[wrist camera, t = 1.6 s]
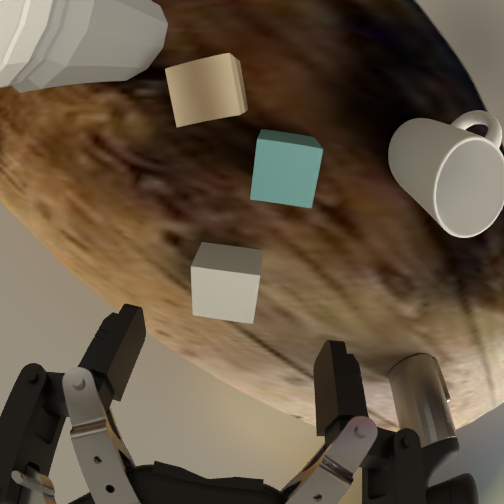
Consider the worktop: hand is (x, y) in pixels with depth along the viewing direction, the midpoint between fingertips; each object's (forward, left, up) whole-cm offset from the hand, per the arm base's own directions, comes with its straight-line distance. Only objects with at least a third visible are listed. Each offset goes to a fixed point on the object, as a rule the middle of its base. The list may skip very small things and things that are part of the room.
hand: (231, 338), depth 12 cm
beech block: (+5, -9, -20) cm, 22 cm away
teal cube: (-2, -3, -20) cm, 20 cm away
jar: (+15, -15, -20) cm, 29 cm away
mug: (-17, -8, -20) cm, 27 cm away
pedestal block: (+2, +11, -20) cm, 23 cm away
